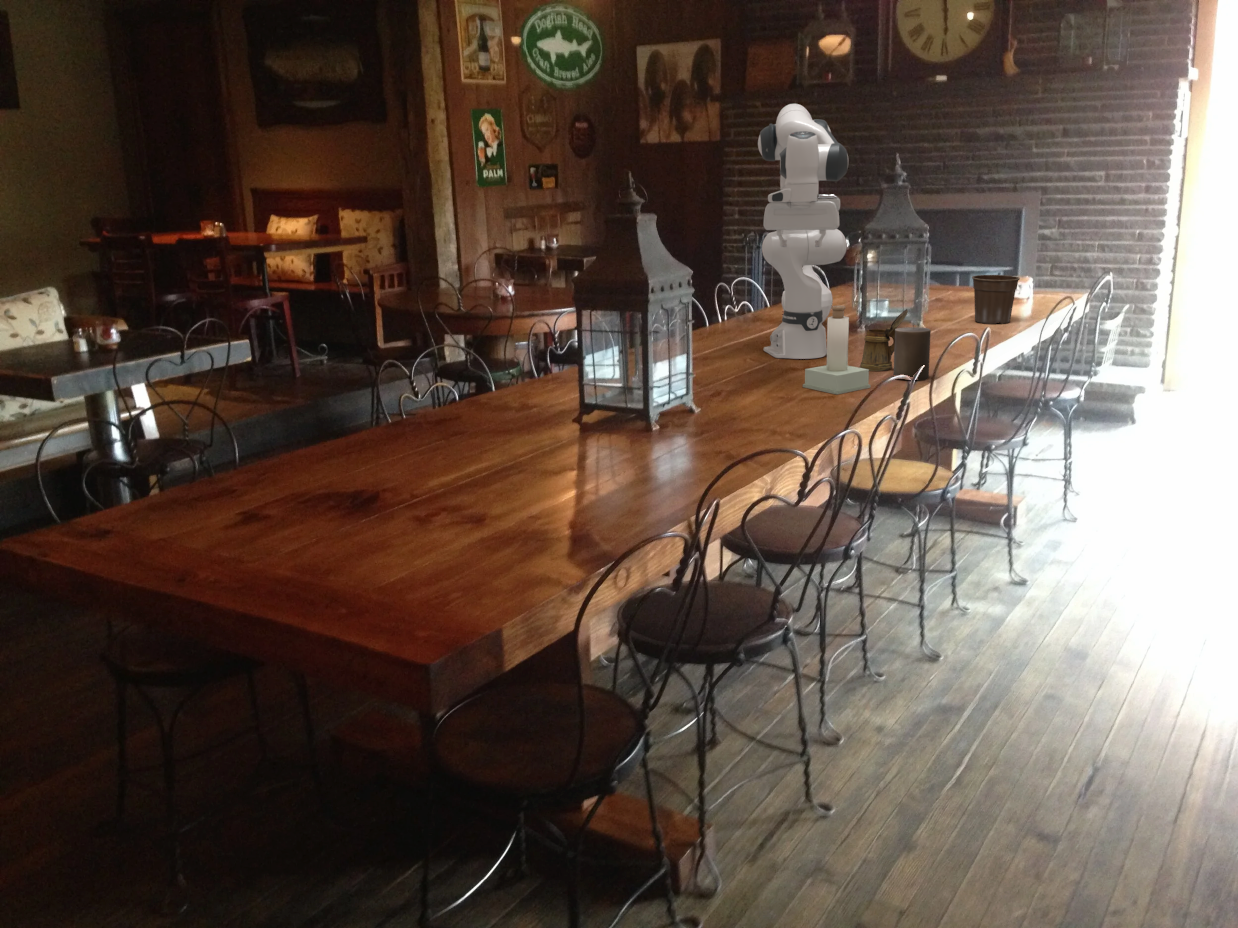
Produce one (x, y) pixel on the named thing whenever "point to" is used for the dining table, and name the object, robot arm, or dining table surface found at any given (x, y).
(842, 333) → the stoneware bottle
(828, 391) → the plinth
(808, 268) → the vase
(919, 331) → the pillar candle
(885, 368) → the wooden mug
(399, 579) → the dining table surface
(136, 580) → the dining table surface
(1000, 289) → the plant pot
